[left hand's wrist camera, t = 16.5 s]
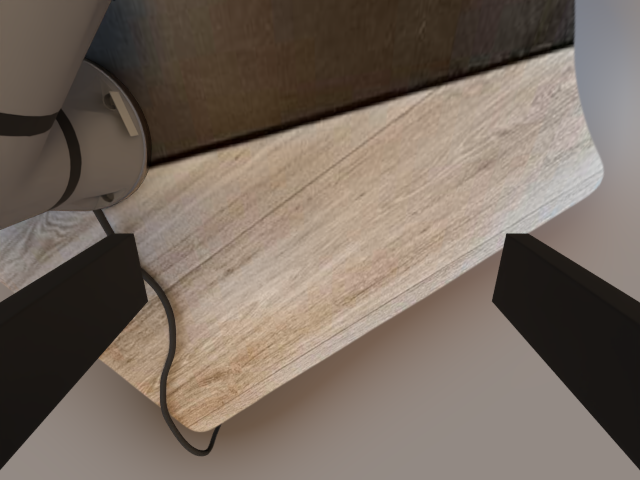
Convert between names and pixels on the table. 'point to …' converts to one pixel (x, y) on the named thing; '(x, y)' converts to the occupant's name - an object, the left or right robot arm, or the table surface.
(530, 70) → the table surface
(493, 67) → the table surface
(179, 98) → the table surface
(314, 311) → the table surface
